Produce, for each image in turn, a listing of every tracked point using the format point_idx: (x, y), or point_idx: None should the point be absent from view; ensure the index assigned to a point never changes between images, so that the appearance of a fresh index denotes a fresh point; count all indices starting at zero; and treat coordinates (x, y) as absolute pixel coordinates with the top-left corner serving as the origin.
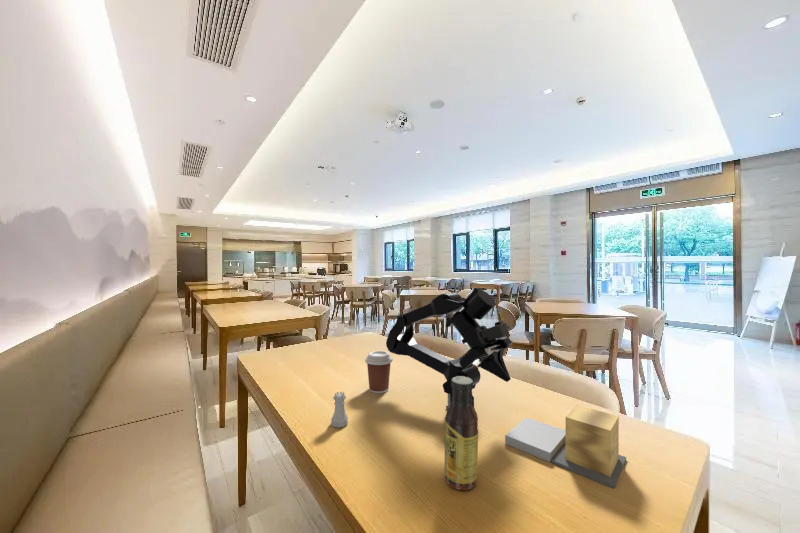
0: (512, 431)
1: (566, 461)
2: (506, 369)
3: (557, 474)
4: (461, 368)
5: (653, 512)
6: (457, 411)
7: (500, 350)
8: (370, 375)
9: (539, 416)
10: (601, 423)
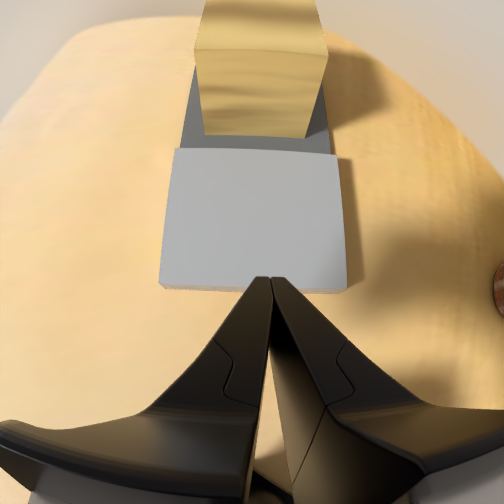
0: (306, 280)
1: (310, 135)
2: (241, 315)
3: (360, 148)
4: None
5: (330, 44)
6: None
7: (213, 478)
8: None
9: (77, 274)
10: (289, 6)
